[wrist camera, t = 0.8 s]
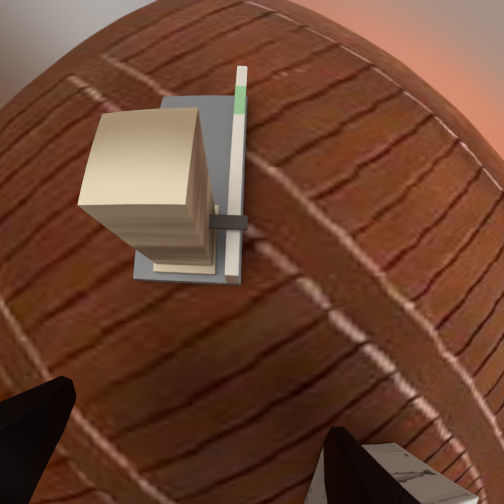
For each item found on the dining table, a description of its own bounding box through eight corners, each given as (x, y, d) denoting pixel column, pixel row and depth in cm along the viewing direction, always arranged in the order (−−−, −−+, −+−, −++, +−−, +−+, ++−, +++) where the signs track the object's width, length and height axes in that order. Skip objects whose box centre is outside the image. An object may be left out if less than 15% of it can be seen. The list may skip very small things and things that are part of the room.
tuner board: (240, 285, 23) (241, 275, 17) (139, 280, 22) (112, 269, 17) (247, 106, 27) (249, 66, 21) (165, 106, 26) (155, 68, 21)
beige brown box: (243, 275, 21) (254, 221, 9) (155, 272, 21) (70, 218, 9) (245, 208, 22) (256, 99, 10) (161, 207, 22) (101, 105, 10)
